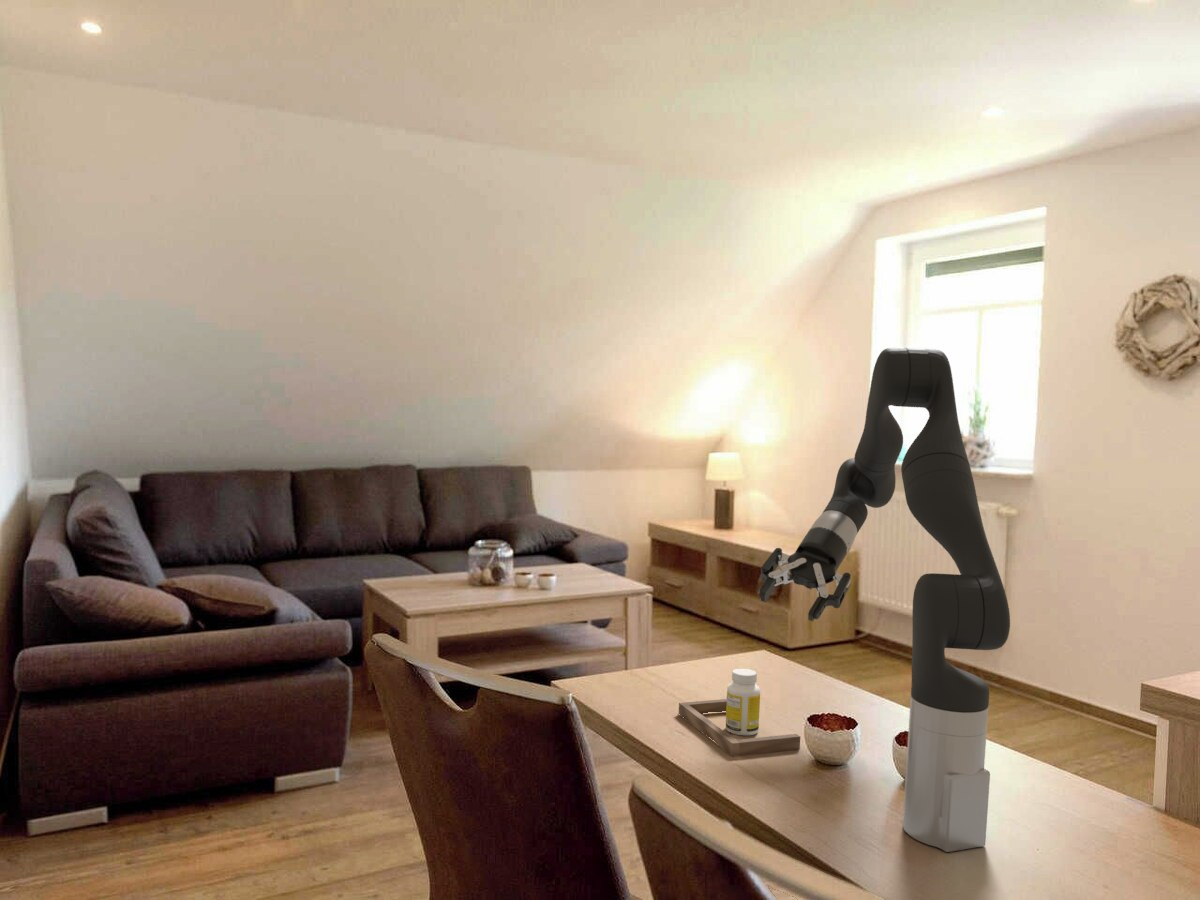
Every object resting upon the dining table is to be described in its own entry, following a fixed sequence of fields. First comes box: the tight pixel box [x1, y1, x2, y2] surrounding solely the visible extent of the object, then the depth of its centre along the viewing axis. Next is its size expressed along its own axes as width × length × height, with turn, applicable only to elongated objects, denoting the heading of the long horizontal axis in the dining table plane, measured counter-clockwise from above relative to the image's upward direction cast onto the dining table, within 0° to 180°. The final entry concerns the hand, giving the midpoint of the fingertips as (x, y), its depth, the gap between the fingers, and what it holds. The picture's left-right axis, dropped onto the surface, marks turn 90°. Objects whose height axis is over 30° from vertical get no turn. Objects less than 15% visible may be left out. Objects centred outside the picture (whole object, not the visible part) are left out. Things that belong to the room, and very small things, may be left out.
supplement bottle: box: [725, 668, 761, 737], centre depth 151 cm, size 5×5×10 cm
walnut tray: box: [678, 698, 801, 757], centre depth 151 cm, size 19×12×2 cm, turn 20°
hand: (786, 608), depth 151 cm, fingers open, 8 cm apart
